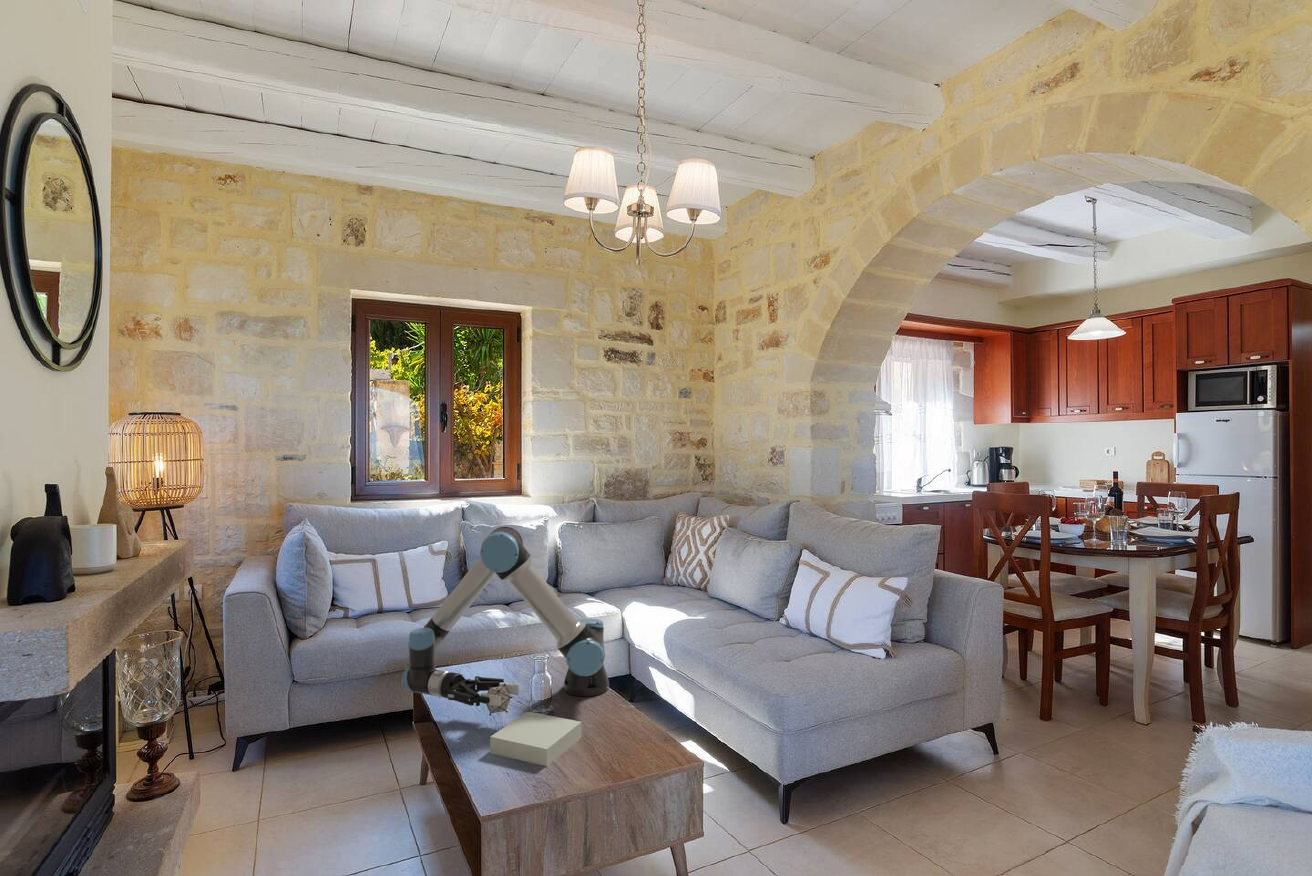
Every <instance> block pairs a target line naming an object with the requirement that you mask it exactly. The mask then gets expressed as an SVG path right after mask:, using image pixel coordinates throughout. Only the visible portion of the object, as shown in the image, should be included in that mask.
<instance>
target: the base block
mask: <svg viewBox="0 0 1312 876" xmlns="http://www.w3.org/2000/svg"><path fill="white" fill-rule="evenodd" d="M582 725H583V724H582V721H578V720H575V719H570V718H569V719H568V718H565V717H564V718H563V717H558V716H555V715H554V716H553V715H547V714H544V713H537V712H533V711H527V712H525V713H524V714H522V715H521V716H519V717H518V718H515V719H514V720H513V721H512V722H510V723H509V724H507V725H506V726H504V727H503V728H501V729H500V730H498V731H497V732H495V733H494V734H492V735H491V736H489V737H490V743H489V744H490V745H489V747H490V751H489V752H490V755H491V754H492V755H496V756H501V757H505V758H510V759H513V760H517V761H518V760H519V761H523V762H525V763H526V762H527V763H532V764H535V765H540V766H544V767H548V766H549V765H551V764H552V763H553V762H554V761H555V760H557V759H558V758H559V757H560V756H561V755H563V754H564V753H566V751H568V750H569V749H570V748H571V747H572V746H573V745H575V744H576V743H577V742H578V741H580V740H581V739H582V734H583V733H582V728H583V727H582ZM580 738H581V739H580ZM579 739H580V740H579ZM550 763H551V764H550Z"/></svg>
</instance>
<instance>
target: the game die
mask: <svg viewBox="0 0 1312 876" xmlns="http://www.w3.org/2000/svg"><path fill="white" fill-rule="evenodd" d="M504 683H505V684H504V686H499V687H492V688H490V687H489V686H488V688H489V690H488V691H487V693H486V694H492V695H497V696H501V706H494V705H489V704H485V705H486V708H488V711H489V715H488V716H489V717H491V715H492V714H495V713H502V712H503V713H504V712H505V713H506V714H508V711H507V709H508V706H509V704H510V701H511V699H513V698H514V697H513V696H510V695H511V694H509V693H508V692H507V690H506V688H505V685H506V682H504Z"/></svg>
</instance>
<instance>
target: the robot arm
mask: <svg viewBox="0 0 1312 876" xmlns="http://www.w3.org/2000/svg"><path fill="white" fill-rule="evenodd" d="M523 543H524V541H523V538H522V535H521V534H520V532H519V531H518V530H516V529H515V528H513V527H510V526H507V525H506V526H501V527H497V528H495V529H493V530H492V531H491V532H490V533H489V535H487V536H486V537H485V538H484V540H483V541H482V543H481V546H480V551H479V557H478V558H477V559H476V561H475V563H474V564H473V565H472V566H471V568H470V569H469V570H468V571H467V572H466V573H465V575H464V576H463V577H462V578H461V580H460V581H459V583H458V584H456V586H455V587H454V589H453V590H452V591H451V592H450V594H449V595H448V596H447V597H446V599H445V600H444V602H443V603H442V604H441V605H440V606H439V608H438V609H437V610H436V612H435V613H434V614H433V615H432V616H431V618H430V619H429V620H428V622H427V623H425V625H424V626H423V627H419V628H415V629H413V630H411V631H409V634H408V635H409V636H408V643H407V644H408V653H409V655H408V656H409V666H408V667H407V668H406V669H405V670H404V671H403V672H402V677H401V686H402V688H403V690H406V691H409V692H412V693H414V694H423V695H430V696H432V697H433V696H434V697H438V698H439V699H440V698H441V699H442V698H444V699H447V700H448V701H455V702H458V703H462V704H464V705H467V706H469V707H470V706H474V705H475V707H480V706H481V705H480V704H484V705H486V704H489V705H494V706H501V696H497V695H492V694H487V693H485V692H488V690H489V688H488V686H489V687H490V688H492V687H499V686H504V684H505V683H506V682H504V681H505V679H504V678H494V677H484V676H477V675H476V676H474V679H470V678H468V679H467V678H465V677H464V675H463V674H461V673H459V672H458V673H457V672H452V671H447V670H442V669H441V670H440V669H437V668H436V655H435V654H436V650H437V649H438V647H439V646H440V645H441V643H442V642H443V641H444V640H445V638H446V637H447V636H448V634H449V633H450V631H451V630H452V629H453V628H454V627H455V625H456V624H457V623H458V622H459V620H460V619H461V617H463V616H464V614H465V613H466V612H467V610H469V607H471V606H472V604H473V603H474V602H475V600H476V599H477V598H478V596H480V594H481V593H482V592H483V590H485V587H487V586H488V584H489V583H490V582H491V580H492V579H493V578H494V577H495V575H496V576H497V577H498V578H499V579H500V580H501V581H502V582H509V583H510V585H512V587H513V588H514V590H515V591H516V592H517V593H518V594H519V595H520V597H521V598H522V599H523V600H524V602H525V603H526V604H527V605H528V607H530V609H531V610H532V612H534V614H535V616H537V618H538V619H539V620H540V622H542V623H543V625H544V626H545V627H546V628H547V629H548V631H549V632H550V633H551V635H552V636H553V637H554V638H555V639H556V646H555V647H556V649H557V650H558V651H559V652H560V654H561V655H562V656H563V657H564V658H565V660H566V661H565V662H566V665H567V667H568V668H567V670H566V674H565V677H564V681H563V690H564V692H565V693H566V694H568V695H571V696H576V697H595V696H597V695H601V694H604V693H605V692H606V693H607V691H608V690H609V688H610V681H609V677H608V673H607V670H606V668H605V658H606V651H605V643H604V642H605V641H604V636H605V635H604V633H605V632H604V630H605V627H604V622H603V620H601V619H598V618H579V619H577V618H576V617H575V616H574V615H573V613H572V612H571V611H570V610H569V609H568V607H567V606H566V605H565V604H564V602H563V601H562V600H561V599H560V597H559V596H558V595H557V593H556V592H555V591H554V590H553V589H552V588H551V587H550V584H548V583H547V581H546V580H545V579H544V577H542V575H541V574H540V573H539V572H538V570H537V569H536V568H535V566H534V565H533V564H532V555H531V554H530V553H529V551H528V550H527V549H526V547H525V546H524V544H523ZM519 686H520V685H519V684H514V683H513V684H512V683H508V682H507V683H506V685H505V688H506V690H507V692H508V693H509V695H514V696H518V695H519V694H520V691H519V690H520V687H519ZM607 687H609V688H607ZM484 691H485V692H484ZM479 692H481V693H479Z"/></svg>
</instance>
